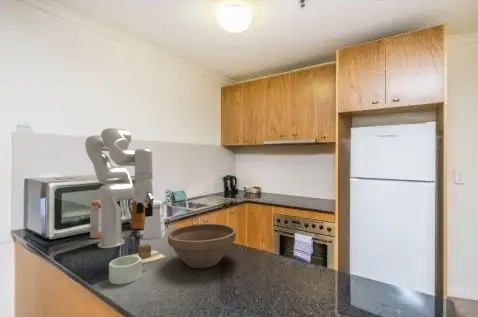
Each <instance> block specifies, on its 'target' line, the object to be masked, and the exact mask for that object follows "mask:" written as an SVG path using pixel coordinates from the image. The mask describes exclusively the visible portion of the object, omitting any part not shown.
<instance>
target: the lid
mask: <svg viewBox="0 0 478 317" xmlns="http://www.w3.org/2000/svg"><path fill="white" fill-rule="evenodd" d="M137 247H138V248H137V250H138V252H137V253H133V254H132V253H131V254H128V255H127V256H132V255H133V256H139V257H141V260H142V266H143V265H146V264H150V263H154V262H157V261H160V260H163V259H167V256H166V255H164V254H162V253H161V252H159V251H157V250H155V249H154V248H152V245H151V244H148V243H144V244H139V245H138V246H137Z"/></svg>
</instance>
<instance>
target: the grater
mask: <svg viewBox="0 0 478 317" xmlns="http://www.w3.org/2000/svg"><path fill="white" fill-rule="evenodd" d="M155 202H157V203H159V204H160V205H159V206H160V207H158V206H157V207H153V216H149V217H145V225H144V228H143V234H142V239H143V240H144V239H145V240H146V239H147V240H149V239H151V240H153V239H162V238H164V236H165V234H166V228H165V227H166V226H165V219H164V211H163V207H162V206H163V205H162V201H161V200H153V203H155ZM147 204H148V203H147Z"/></svg>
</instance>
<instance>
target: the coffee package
mask: <svg viewBox="0 0 478 317" xmlns="http://www.w3.org/2000/svg"><path fill="white" fill-rule="evenodd" d="M143 204H144V213H141V214H136V201H135V200H134V199H133V201H132V204H131V214H130V217H131V230H144V225H145V207H146V206H145V203H144V202H143Z"/></svg>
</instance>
